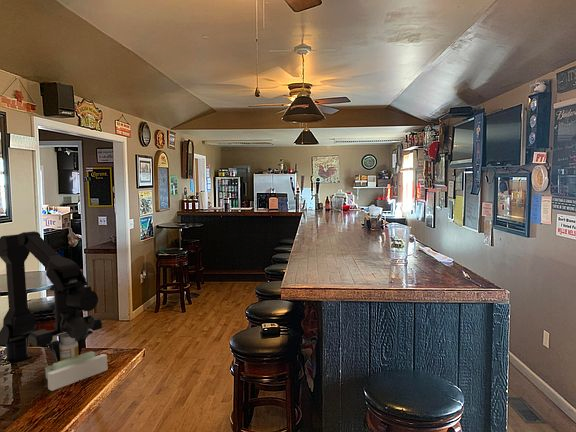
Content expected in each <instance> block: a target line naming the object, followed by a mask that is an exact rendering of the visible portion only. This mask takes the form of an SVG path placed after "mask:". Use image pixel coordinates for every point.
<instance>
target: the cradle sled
mask: <svg viewBox="0 0 576 432" xmlns="http://www.w3.org/2000/svg"><path fill="white" fill-rule="evenodd" d="M95 356H96V352H95V351H92V350H90V351H87V352H84V353H81V354H80V355H77V356H74V357H71V358H68V359H65V360H62V361H59V362H53V364H52V365H50V366H46V367H45V379H47V380H48V375H47V373H48V372H51V371H54V370H57V369H60V368H63V367H66V366H69V365H72V364H75V363H78V362H81V361H84V360H87V359H89V358H92V357H95Z"/></svg>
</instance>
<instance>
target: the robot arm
mask: <svg viewBox="0 0 576 432" xmlns="http://www.w3.org/2000/svg"><path fill="white" fill-rule="evenodd" d="M30 253H31V255H32V256H33V257H34V258H36V260H37V261H38V262H39V263H40V264H42V266H43V267H44V268H45V276H46V277H47V279H48V280H49V281H50V283H51V284H52V285H51V287H50V288H49V291H52V292H53V293H54V295H53V296H54V310H52V314H53V315H54V317H55V323H54V324H53V328H54V329H53V330H50V331H49V330H47V329H45V328H43V329H38V330H36V325H37V321H36V313H35V312H33V311H31V309H29V308H28V297H27V296H28V295H27V283H26V266H25V263H26V260H27V259H28V257H29V255H30ZM0 259H1V261H3V262H4V263H5V271H6V285H7V301H8V302H7V303H8V310H7V311H6V314H5V316H4V317H3V320H2V321H3V322H2V325H3V326H2V328H1V329H0V344H3V345H5V348H6V349H5V352H6V356H7V358H6V359H5V360H6V361H5V360H4V361H5V362H6V363H9V364H13V363H18V362H20V361H23V360H28V359H30V358H33V355H32V354H31V353H29V352H28V350H29V349H28V343H30V344H31V345H34V346H36V347H43V346H45V345H46V346H47V348H48V349H49V350H50V353H51V354H52V356H53V358H54V360H55V361H56V362H59V361H60V352H59V344H60V340H58V337H60V335H64V334H68V335H69V336H70V338H75V340H76V341H77V342H78V352H79V355H80V354H82V350H83V348H84V345H85V342H86V340H87V338H88V337H89V336H91V335H93V333H94V331H97V330H101V329H103V327H104V326H103V321H102V319H100V318H98V317H95V316H94V315H92V314H91V315H86V316H81V311H82V312H91V311H93V310H94V309H95V308H96V307H97V305H98V303H99V297H98V295H97V293H96V292H95V291H94V290H92V286H91V285H88V281H87V278H86V277H85V275H84V274H83V272H82V270H81V269H80V266H79V265H78V264H77V262H75V261H74V260H72V259H70V258H68V257H64V256H61V255H60V254H59V253H58V252H57V251H55V249H54V248H53V247H52V246H50V244H49V243H47V242H46V241H45V240H44V238H42V236H41V234H40V232H38V231H35V230H33V231H25V232H21V233H19V234H8V235H1V236H0ZM56 362H55V363H56Z"/></svg>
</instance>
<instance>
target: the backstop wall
mask: <svg viewBox="0 0 576 432" xmlns="http://www.w3.org/2000/svg"><path fill="white" fill-rule="evenodd" d="M108 368H109V367H108V355H107V354H105V353H101V354H99V355H95V357H92V358H89V359H87V360H84V361H81V362H78V363H75V364H72V365H69V366H66V367H63V368H60V369H57V370H54V371H51V372H48V373H47V375H48V379H47V389H48V390H49V391H51V392H52V391H55V390H59V389H61V388H64V387H66V386H68V385H71V384H73V383H76V382H80V381H82V380H85V379H87V378H90V377H93V376H96V375H99V374H101V373H104V372H106V371H108ZM79 380H80V381H79Z"/></svg>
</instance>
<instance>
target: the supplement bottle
mask: <svg viewBox="0 0 576 432" xmlns="http://www.w3.org/2000/svg"><path fill="white" fill-rule="evenodd" d="M59 341H60V344H59V352H60V361H62V360H65V359H68V358H71V357H74V356H77V355H79V352H78V342H77V341H76V340H75V338H70V336H69V335H68V334H64V335H60V336H59Z"/></svg>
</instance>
